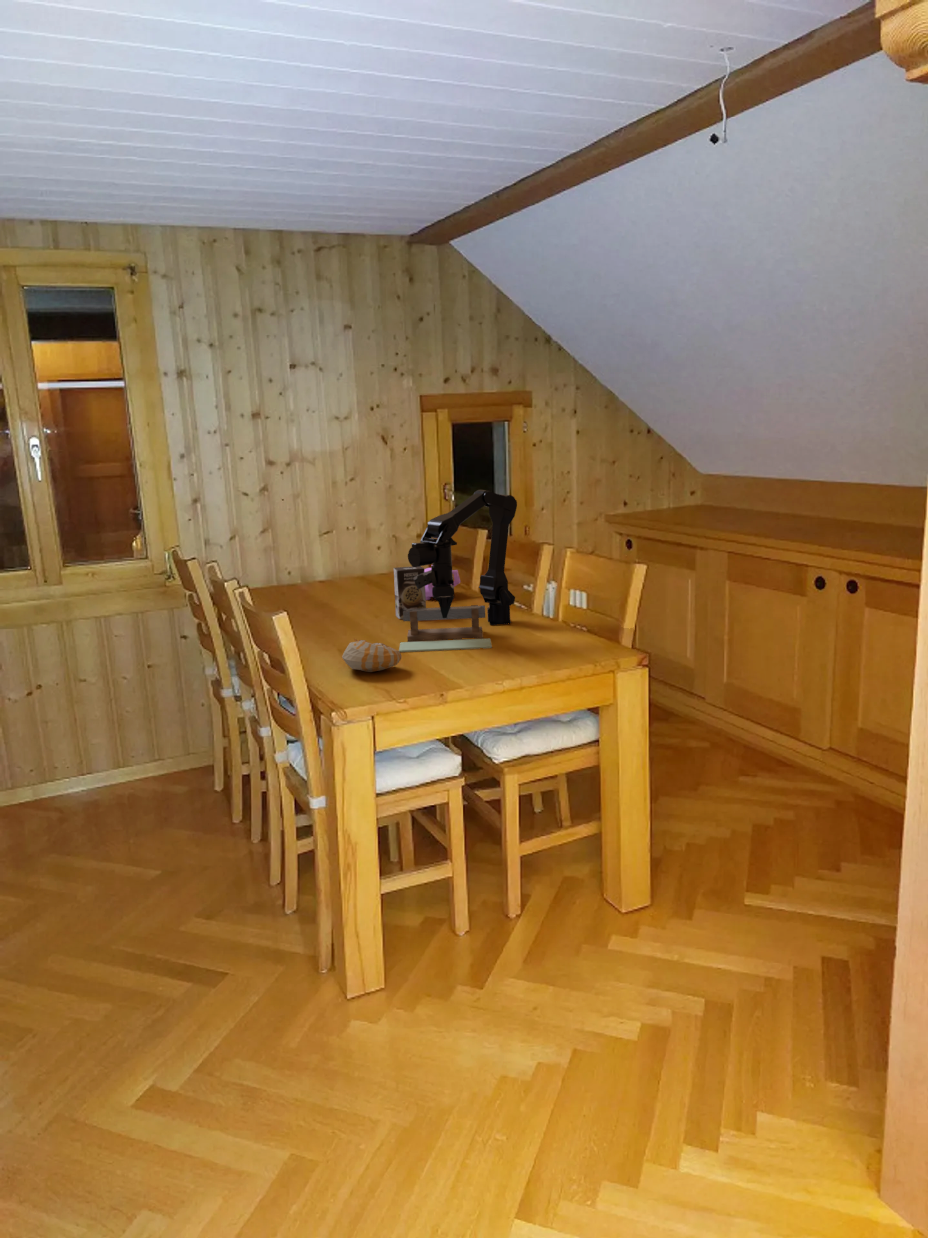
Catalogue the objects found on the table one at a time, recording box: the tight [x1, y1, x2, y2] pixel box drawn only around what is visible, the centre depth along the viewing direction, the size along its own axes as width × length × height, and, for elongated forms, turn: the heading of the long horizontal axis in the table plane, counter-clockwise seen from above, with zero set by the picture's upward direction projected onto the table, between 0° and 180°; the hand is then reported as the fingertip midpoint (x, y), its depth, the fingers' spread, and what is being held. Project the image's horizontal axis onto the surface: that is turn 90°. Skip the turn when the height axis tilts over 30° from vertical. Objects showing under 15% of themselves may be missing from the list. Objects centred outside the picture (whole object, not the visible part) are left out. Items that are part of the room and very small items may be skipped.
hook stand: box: [406, 604, 484, 642], centre depth 275 cm, size 22×8×8 cm, turn 91°
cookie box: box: [393, 566, 427, 620], centre depth 302 cm, size 9×6×16 cm
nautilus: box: [341, 637, 402, 673], centre depth 247 cm, size 8×22×15 cm
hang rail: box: [402, 605, 486, 622], centre depth 275 cm, size 24×3×3 cm, turn 91°
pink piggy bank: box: [424, 564, 461, 601], centre depth 330 cm, size 18×17×12 cm
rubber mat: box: [398, 638, 493, 653], centre depth 266 cm, size 26×9×1 cm, turn 91°
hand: (444, 614), depth 275 cm, fingers open, 9 cm apart
